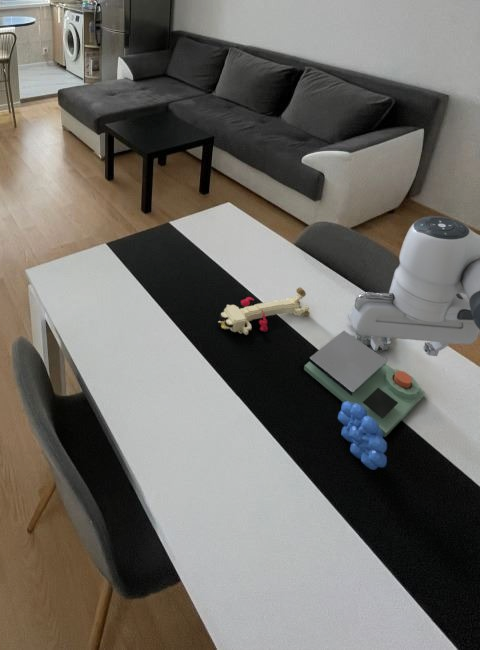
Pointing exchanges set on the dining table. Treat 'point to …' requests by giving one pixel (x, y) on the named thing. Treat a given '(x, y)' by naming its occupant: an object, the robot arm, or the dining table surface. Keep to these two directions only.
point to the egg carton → (367, 340)
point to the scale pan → (353, 369)
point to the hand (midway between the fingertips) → (402, 350)
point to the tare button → (402, 379)
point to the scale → (379, 380)
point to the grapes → (363, 435)
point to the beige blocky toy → (260, 312)
